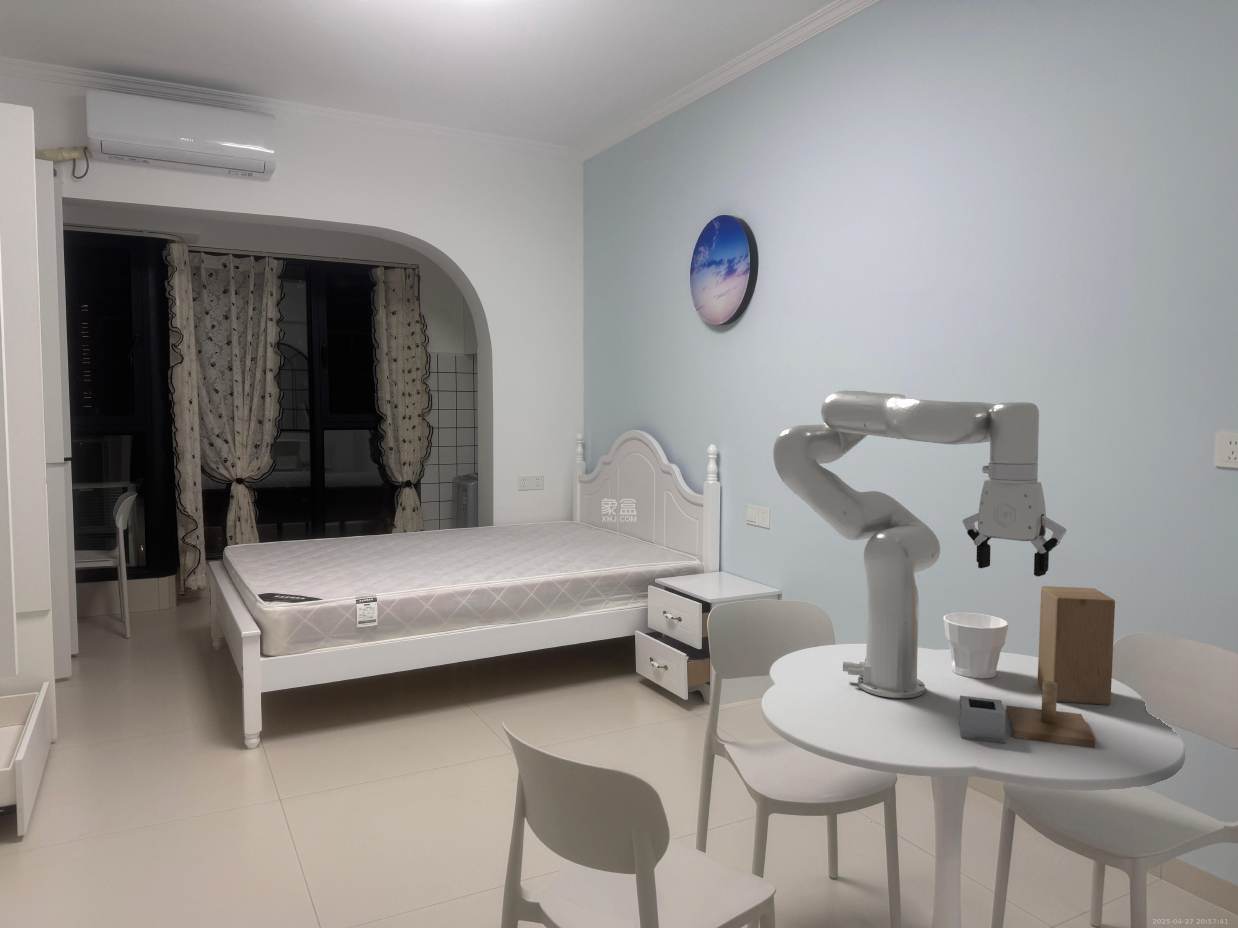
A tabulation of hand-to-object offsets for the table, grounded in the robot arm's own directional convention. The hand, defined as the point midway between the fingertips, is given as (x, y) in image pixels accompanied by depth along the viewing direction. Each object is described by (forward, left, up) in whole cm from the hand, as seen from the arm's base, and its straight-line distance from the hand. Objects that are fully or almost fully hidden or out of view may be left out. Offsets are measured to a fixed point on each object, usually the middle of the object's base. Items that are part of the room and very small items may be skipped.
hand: (1011, 571), depth 142 cm
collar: (-5, -8, -27) cm, 28 cm away
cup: (-4, +26, -27) cm, 38 cm away
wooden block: (+13, +18, -27) cm, 35 cm away
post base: (+6, -2, -27) cm, 27 cm away
